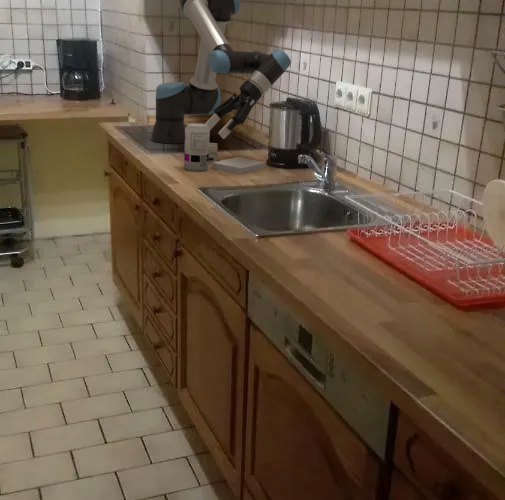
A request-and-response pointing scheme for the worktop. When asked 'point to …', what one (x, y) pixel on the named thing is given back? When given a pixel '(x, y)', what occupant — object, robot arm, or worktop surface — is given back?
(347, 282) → the worktop surface
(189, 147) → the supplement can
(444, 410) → the worktop surface
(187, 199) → the worktop surface
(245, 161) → the grey board
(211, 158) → the letter block
